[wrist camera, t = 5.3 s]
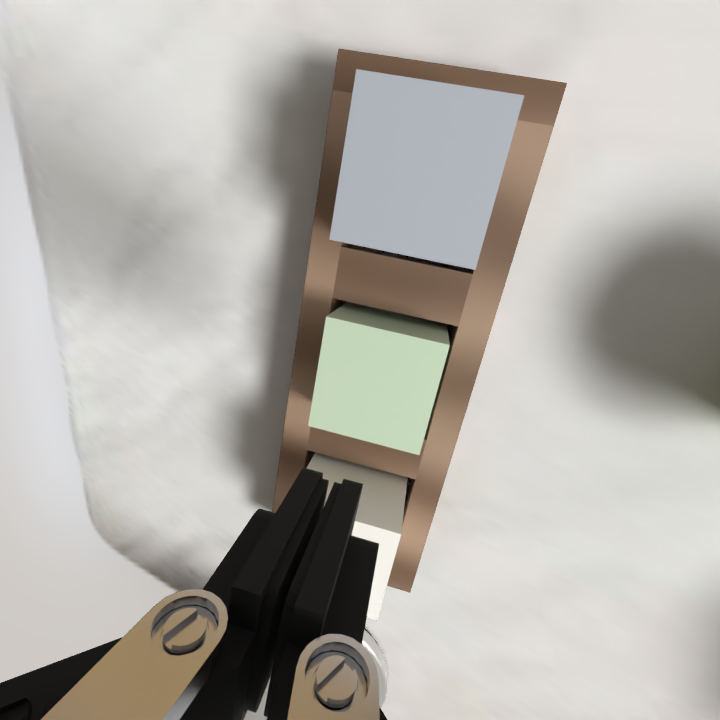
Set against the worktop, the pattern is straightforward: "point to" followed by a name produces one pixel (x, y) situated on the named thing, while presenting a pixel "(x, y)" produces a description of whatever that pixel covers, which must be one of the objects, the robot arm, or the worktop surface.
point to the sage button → (378, 375)
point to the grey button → (422, 166)
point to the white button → (371, 513)
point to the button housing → (411, 295)
